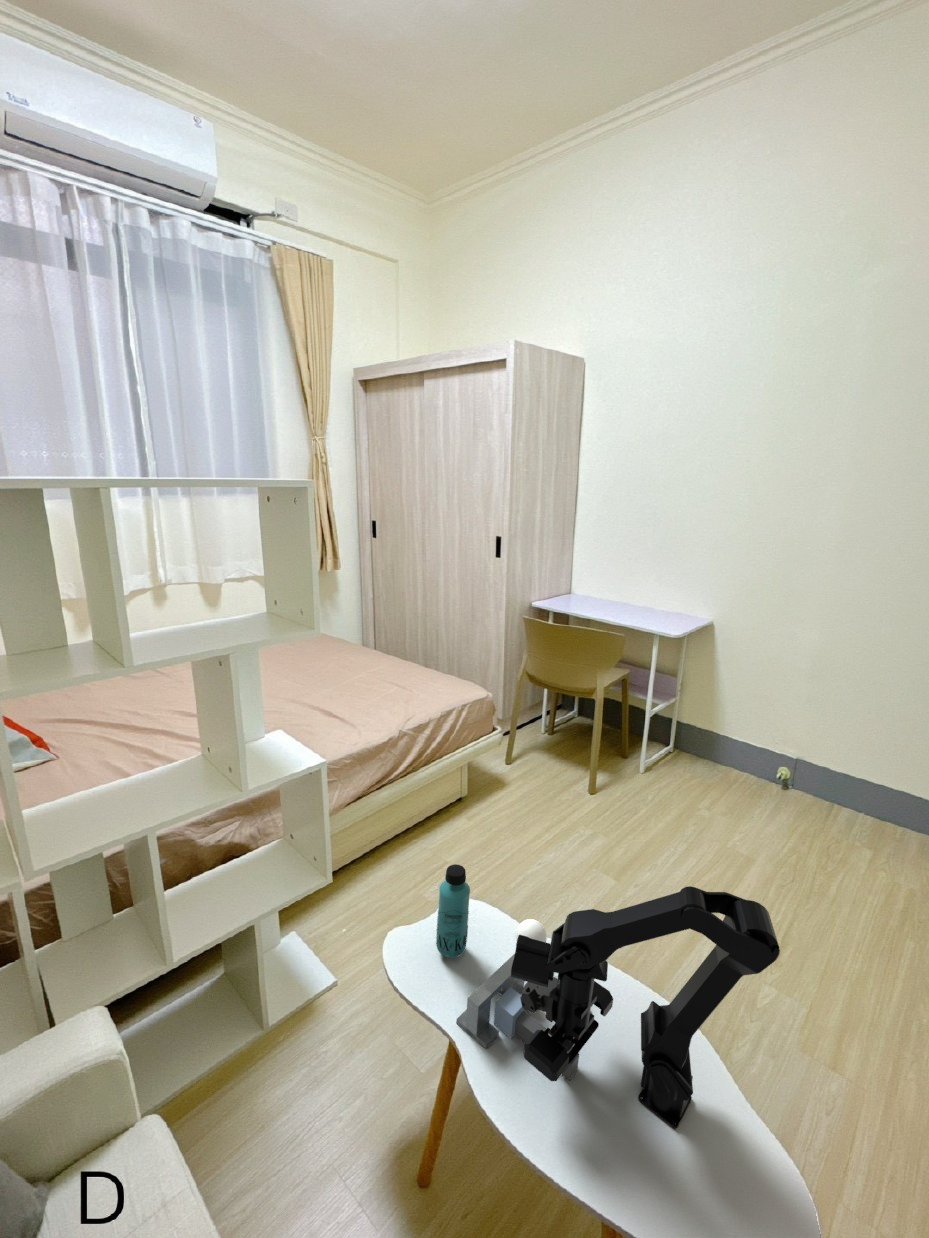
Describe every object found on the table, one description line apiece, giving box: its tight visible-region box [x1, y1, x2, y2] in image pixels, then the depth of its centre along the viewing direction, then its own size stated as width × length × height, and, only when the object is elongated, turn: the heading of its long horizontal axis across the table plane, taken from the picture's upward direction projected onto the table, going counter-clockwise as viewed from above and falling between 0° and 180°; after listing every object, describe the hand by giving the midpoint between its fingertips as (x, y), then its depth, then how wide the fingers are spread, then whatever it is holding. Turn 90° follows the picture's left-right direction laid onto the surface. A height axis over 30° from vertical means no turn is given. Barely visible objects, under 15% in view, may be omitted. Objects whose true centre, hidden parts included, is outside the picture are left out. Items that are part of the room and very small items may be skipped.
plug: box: [493, 987, 580, 1081], centre depth 101 cm, size 16×4×5 cm, turn 48°
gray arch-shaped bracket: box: [455, 953, 525, 1050], centre depth 107 cm, size 7×14×8 cm, turn 138°
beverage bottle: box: [435, 863, 471, 958], centre depth 118 cm, size 6×7×20 cm
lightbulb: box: [515, 918, 548, 943], centre depth 116 cm, size 6×6×11 cm
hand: (565, 1063), depth 97 cm, fingers closed on plug, 2 cm apart
